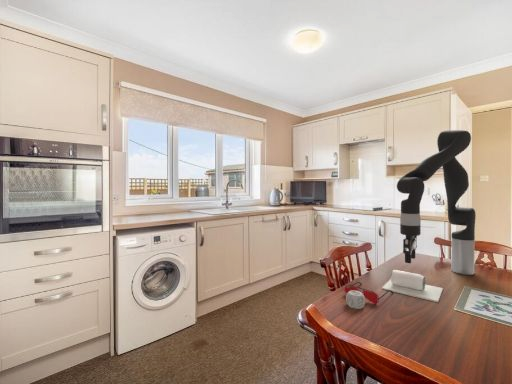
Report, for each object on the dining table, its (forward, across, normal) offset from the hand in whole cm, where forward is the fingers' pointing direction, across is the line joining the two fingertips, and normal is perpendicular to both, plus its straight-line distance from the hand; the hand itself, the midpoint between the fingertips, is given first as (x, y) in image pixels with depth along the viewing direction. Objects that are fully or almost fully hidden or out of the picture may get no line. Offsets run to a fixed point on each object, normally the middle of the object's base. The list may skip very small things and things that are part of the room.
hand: (410, 260), depth 111 cm
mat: (+12, 0, -1) cm, 12 cm away
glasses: (+13, -18, +12) cm, 25 cm away
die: (+12, -32, +12) cm, 36 cm away
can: (+8, -1, +7) cm, 11 cm away
